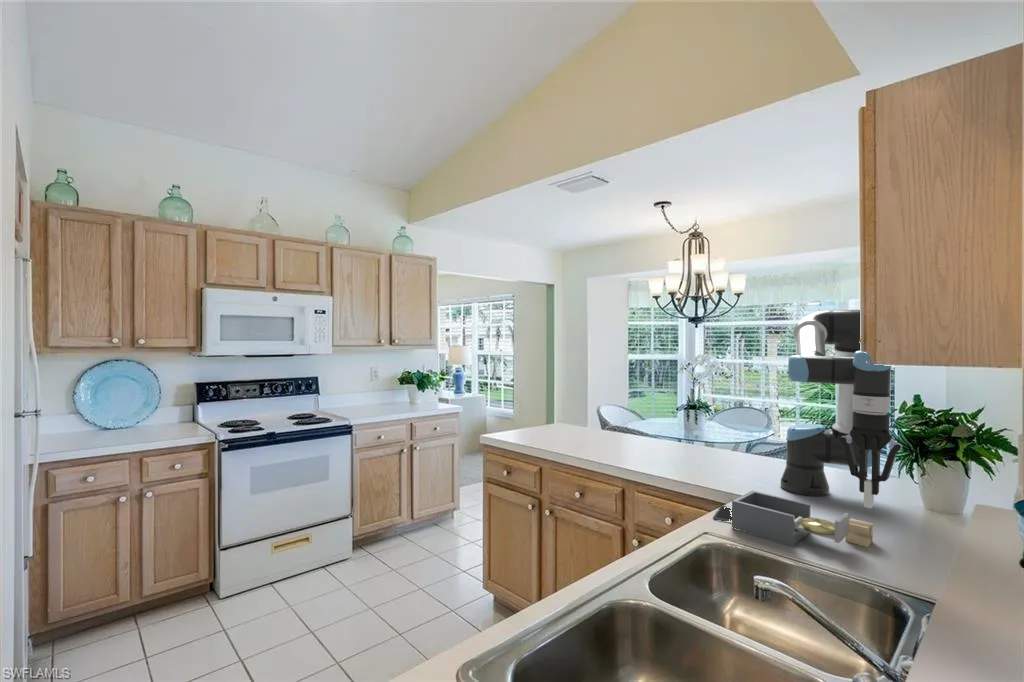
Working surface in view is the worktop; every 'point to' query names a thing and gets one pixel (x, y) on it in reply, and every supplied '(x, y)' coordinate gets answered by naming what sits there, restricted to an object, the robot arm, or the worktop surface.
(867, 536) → the pedestal
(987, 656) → the worktop surface
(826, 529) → the disc
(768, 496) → the box
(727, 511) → the cell phone
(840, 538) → the grey i-beam
